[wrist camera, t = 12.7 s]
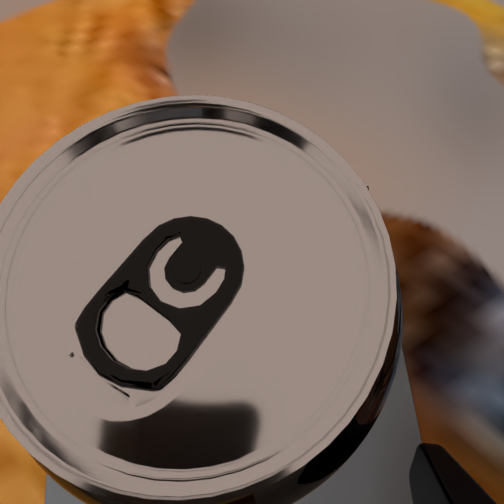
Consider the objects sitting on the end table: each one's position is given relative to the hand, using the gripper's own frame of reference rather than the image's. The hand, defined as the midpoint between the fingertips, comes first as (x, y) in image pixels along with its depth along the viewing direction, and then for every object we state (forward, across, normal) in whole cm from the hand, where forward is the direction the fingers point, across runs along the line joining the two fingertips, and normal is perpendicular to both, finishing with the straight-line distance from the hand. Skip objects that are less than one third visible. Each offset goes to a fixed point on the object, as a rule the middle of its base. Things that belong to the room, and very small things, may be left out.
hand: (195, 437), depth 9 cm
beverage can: (+8, 0, +4) cm, 9 cm away
